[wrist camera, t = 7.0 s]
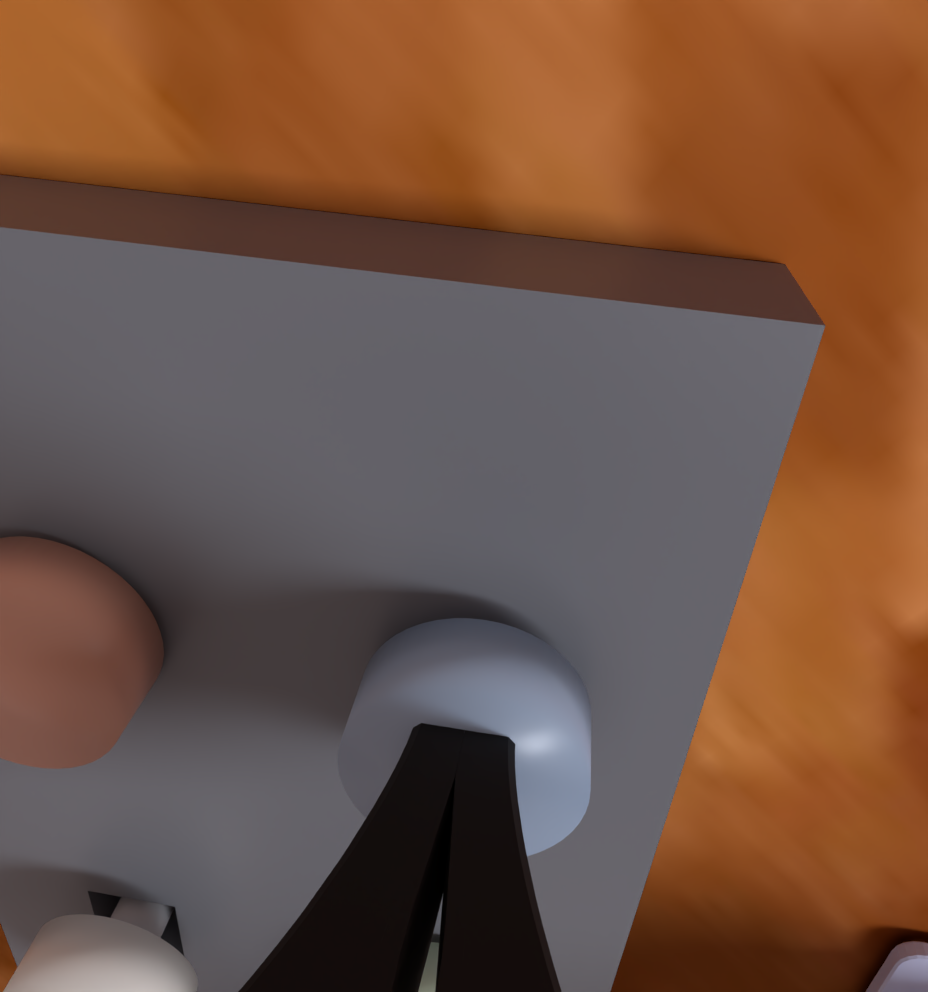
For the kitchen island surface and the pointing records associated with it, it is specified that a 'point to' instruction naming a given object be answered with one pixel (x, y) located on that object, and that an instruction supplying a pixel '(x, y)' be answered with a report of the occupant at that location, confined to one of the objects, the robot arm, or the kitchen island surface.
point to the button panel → (369, 524)
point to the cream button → (105, 954)
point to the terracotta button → (69, 654)
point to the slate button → (477, 715)
